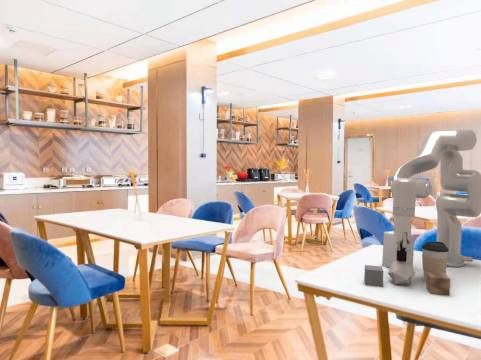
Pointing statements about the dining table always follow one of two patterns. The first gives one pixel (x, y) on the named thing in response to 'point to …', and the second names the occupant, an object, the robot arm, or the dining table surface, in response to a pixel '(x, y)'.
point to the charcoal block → (373, 276)
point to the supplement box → (395, 250)
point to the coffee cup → (434, 258)
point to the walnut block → (438, 284)
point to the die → (401, 273)
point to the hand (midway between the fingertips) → (401, 261)
